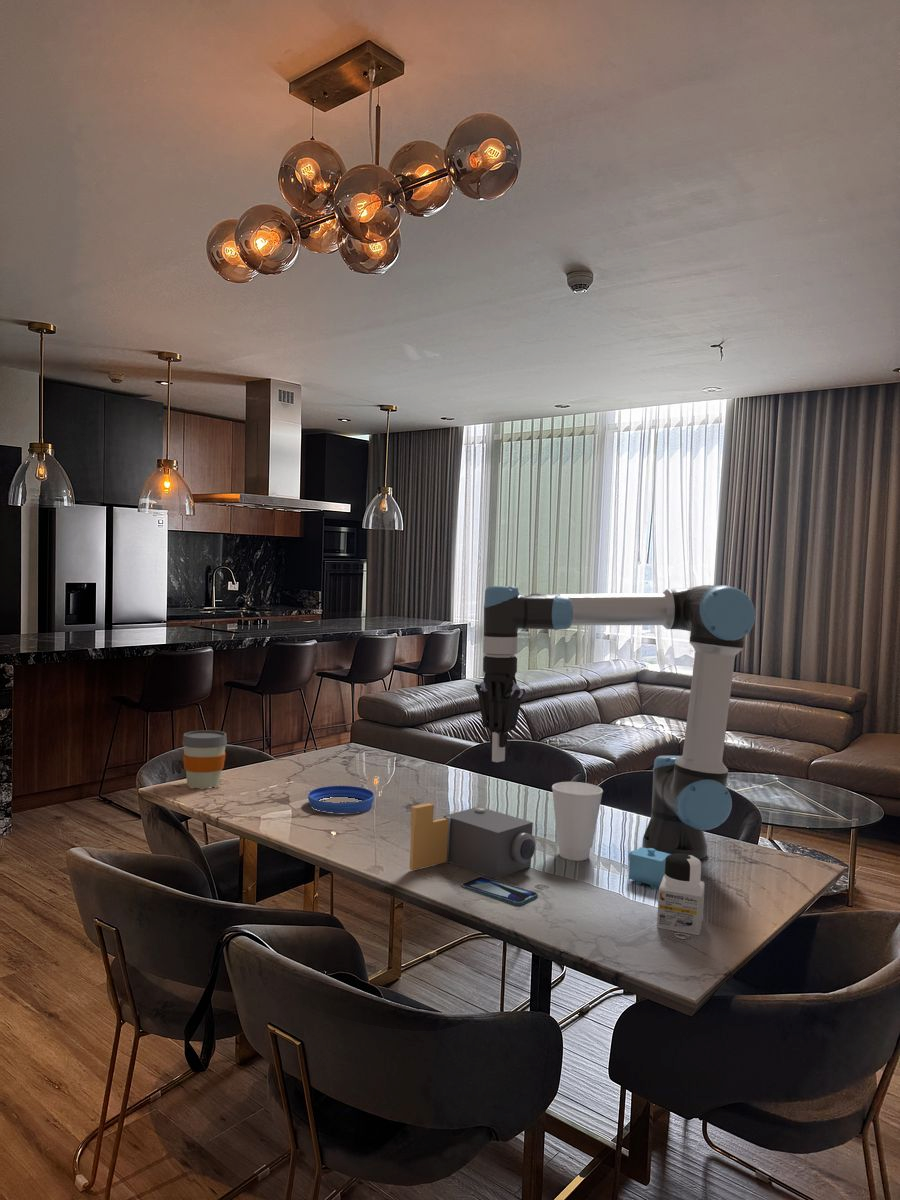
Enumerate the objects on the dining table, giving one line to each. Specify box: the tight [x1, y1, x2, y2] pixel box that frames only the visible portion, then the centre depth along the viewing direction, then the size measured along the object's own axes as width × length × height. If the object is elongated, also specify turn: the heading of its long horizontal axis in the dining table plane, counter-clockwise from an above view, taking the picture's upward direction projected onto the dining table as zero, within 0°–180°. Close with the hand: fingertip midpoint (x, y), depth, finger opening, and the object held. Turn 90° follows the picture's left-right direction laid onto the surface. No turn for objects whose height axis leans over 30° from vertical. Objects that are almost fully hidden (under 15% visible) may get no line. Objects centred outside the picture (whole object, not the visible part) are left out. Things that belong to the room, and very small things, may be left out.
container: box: [656, 853, 705, 936], centre depth 158 cm, size 8×8×13 cm
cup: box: [551, 781, 604, 862], centre depth 195 cm, size 12×12×16 cm
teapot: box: [628, 846, 671, 890], centre depth 179 cm, size 12×6×8 cm, turn 54°
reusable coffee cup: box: [182, 729, 228, 789], centre depth 243 cm, size 13×13×15 cm
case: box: [443, 806, 536, 880], centre depth 186 cm, size 18×12×11 cm, turn 47°
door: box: [409, 802, 451, 871], centre depth 183 cm, size 11×2×14 cm, turn 131°
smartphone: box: [461, 876, 539, 907], centre depth 171 cm, size 7×1×15 cm
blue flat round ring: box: [307, 785, 375, 814], centre depth 229 cm, size 18×18×4 cm
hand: (498, 760), depth 186 cm, fingers closed
